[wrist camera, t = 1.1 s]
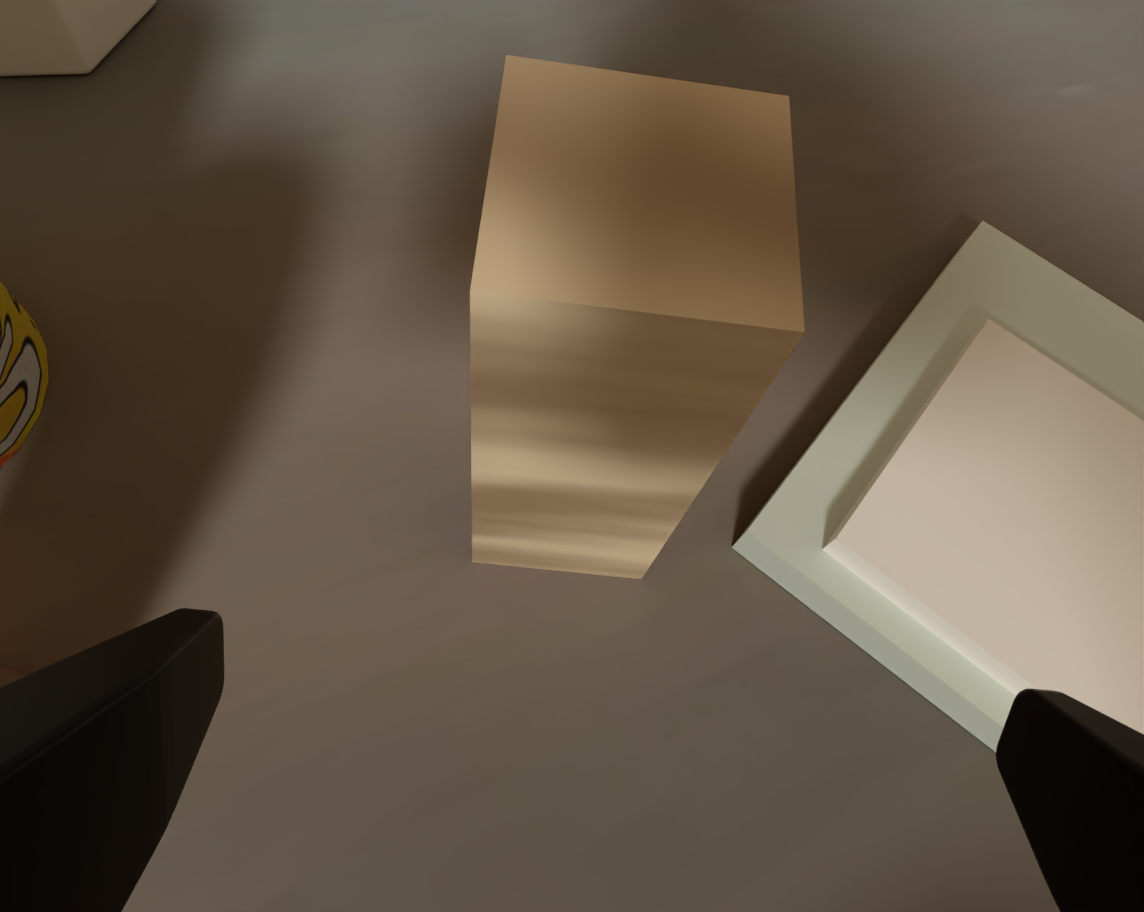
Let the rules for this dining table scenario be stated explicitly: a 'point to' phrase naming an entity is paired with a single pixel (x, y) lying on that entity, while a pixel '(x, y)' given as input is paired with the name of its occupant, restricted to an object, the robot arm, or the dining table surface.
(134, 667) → the robot arm
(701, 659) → the dining table surface
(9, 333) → the beverage can
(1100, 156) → the dining table surface
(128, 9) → the jar
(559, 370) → the pillar block
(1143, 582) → the board
